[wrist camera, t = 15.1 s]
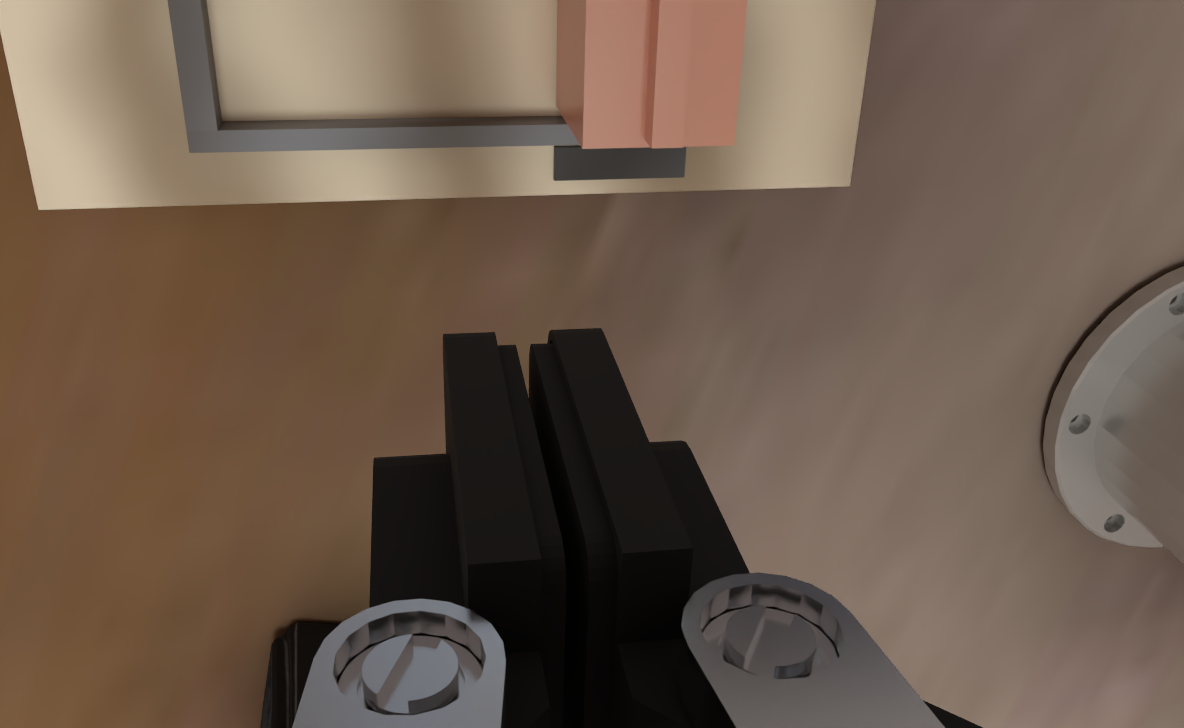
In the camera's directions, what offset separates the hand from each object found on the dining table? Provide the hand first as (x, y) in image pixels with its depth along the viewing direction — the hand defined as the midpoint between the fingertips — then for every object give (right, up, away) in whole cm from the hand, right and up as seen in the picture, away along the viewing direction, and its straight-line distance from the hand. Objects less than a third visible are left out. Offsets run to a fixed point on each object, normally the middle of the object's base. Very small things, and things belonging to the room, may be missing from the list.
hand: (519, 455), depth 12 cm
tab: (+2, +10, +19) cm, 22 cm away
